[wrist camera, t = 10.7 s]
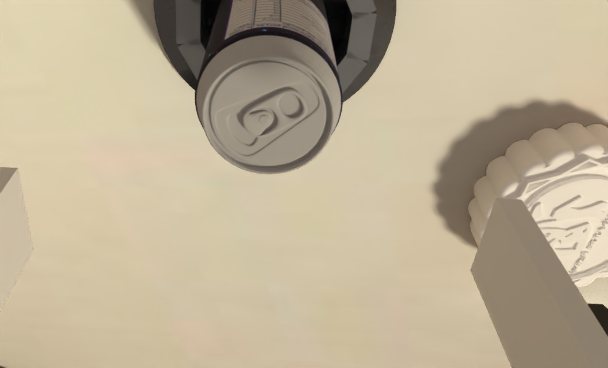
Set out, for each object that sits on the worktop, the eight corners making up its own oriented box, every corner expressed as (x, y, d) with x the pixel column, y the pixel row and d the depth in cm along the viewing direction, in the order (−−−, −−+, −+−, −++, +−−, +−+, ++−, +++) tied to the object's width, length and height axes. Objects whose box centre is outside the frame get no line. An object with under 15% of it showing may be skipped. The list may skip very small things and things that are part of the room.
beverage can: (198, -6, 30) (158, 92, 20) (292, -61, 29) (298, 14, 19) (255, 81, 33) (244, 204, 23) (343, 34, 32) (371, 143, 22)
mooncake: (511, 103, 35) (532, 131, 32) (681, 139, 37) (716, 169, 34) (441, 249, 42) (453, 284, 39) (588, 274, 44) (611, 309, 41)
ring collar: (159, 109, 34) (151, 131, 32) (149, -137, 27) (138, -131, 25) (372, 126, 35) (378, 148, 33) (418, -106, 28) (429, -98, 26)
